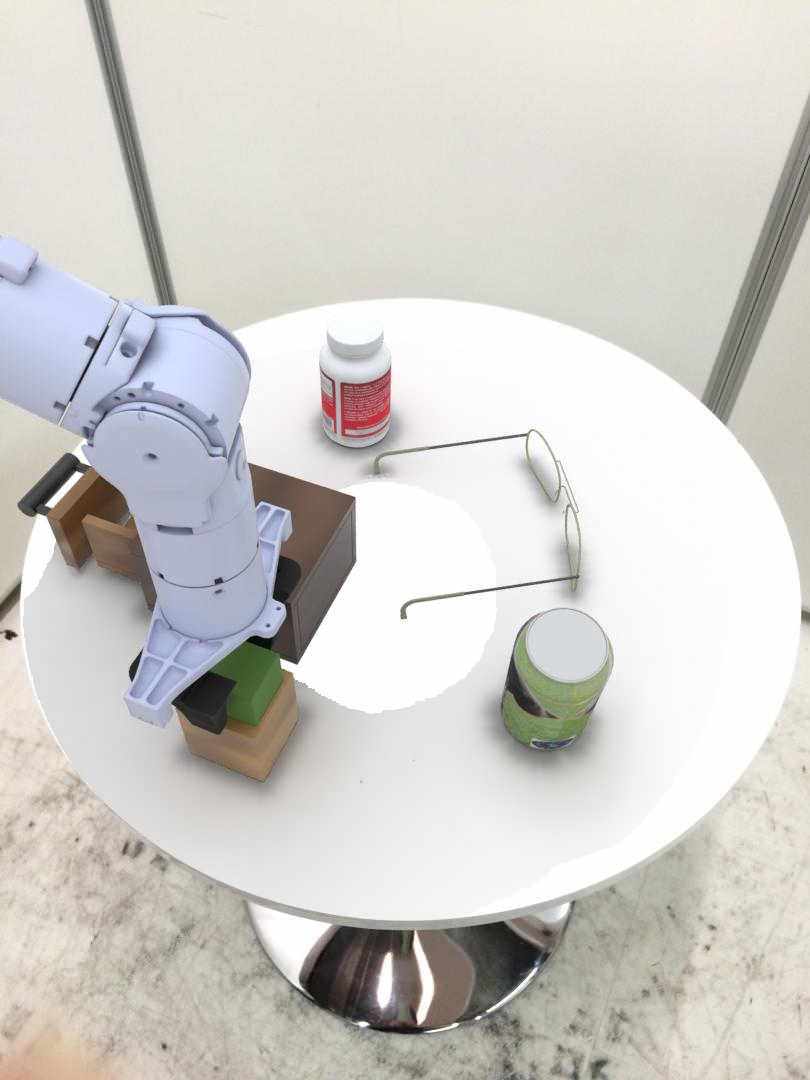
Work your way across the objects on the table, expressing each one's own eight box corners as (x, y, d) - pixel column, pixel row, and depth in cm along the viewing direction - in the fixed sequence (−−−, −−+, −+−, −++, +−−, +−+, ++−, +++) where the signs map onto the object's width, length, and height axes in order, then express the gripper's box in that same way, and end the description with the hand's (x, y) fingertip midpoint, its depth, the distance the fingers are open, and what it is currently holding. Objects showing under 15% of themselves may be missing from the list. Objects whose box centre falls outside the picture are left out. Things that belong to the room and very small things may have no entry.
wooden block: (189, 752, 58) (174, 708, 54) (227, 690, 62) (216, 643, 57) (263, 783, 57) (254, 740, 53) (298, 718, 60) (293, 672, 56)
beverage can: (583, 684, 63) (619, 583, 54) (586, 778, 58) (627, 686, 49) (496, 675, 63) (518, 573, 54) (493, 768, 58) (517, 675, 49)
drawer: (14, 546, 68) (-10, 495, 64) (86, 468, 74) (68, 417, 70) (195, 613, 65) (183, 565, 60) (256, 526, 70) (248, 476, 66)
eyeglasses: (588, 600, 68) (602, 560, 64) (400, 620, 66) (402, 580, 62) (537, 458, 78) (546, 415, 74) (372, 472, 76) (373, 429, 72)
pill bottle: (402, 420, 81) (406, 320, 72) (367, 459, 77) (367, 359, 69) (345, 396, 83) (343, 296, 74) (309, 434, 79) (302, 333, 71)
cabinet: (148, 609, 66) (127, 545, 60) (218, 514, 72) (205, 448, 67) (297, 665, 63) (290, 603, 57) (356, 561, 70) (356, 496, 64)
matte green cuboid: (185, 699, 54) (177, 672, 52) (214, 654, 56) (207, 626, 54) (256, 727, 53) (251, 701, 51) (283, 680, 55) (279, 653, 53)
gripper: (197, 685, 39) (232, 810, 49) (335, 472, 47) (340, 616, 58) (63, 633, 40) (125, 765, 50) (221, 436, 49) (246, 583, 59)
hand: (233, 683), depth 54 cm, fingers open, 6 cm apart
